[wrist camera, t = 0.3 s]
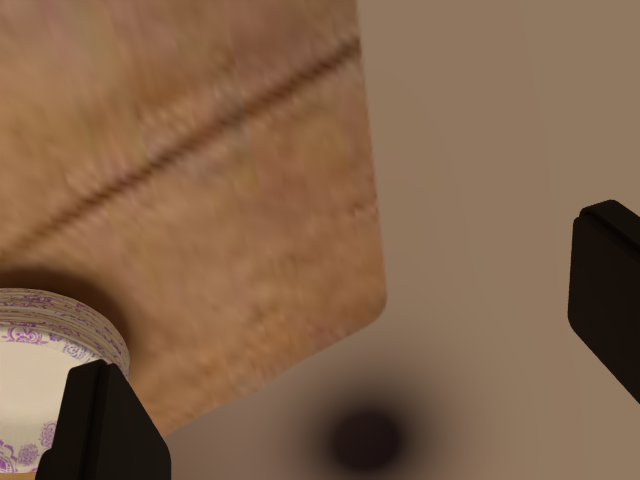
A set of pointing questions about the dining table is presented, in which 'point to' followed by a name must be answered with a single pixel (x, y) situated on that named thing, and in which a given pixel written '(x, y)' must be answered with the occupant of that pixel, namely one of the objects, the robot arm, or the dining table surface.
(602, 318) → the robot arm
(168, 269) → the dining table surface
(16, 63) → the dining table surface
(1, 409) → the paper bowls
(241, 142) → the dining table surface
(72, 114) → the dining table surface
